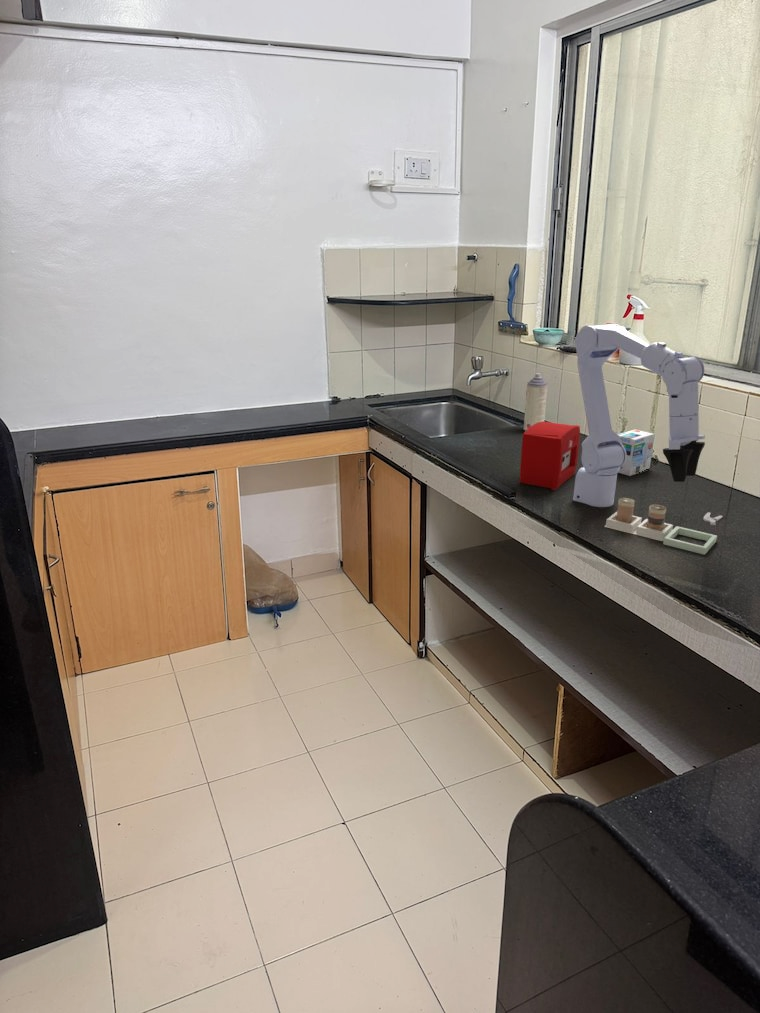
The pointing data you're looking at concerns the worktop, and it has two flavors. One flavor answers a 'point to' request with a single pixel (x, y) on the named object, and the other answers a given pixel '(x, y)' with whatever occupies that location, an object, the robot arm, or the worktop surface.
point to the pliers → (711, 519)
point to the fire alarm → (549, 454)
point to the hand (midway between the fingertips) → (684, 478)
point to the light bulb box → (636, 451)
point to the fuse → (625, 510)
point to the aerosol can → (535, 401)
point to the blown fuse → (656, 517)
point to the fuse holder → (638, 527)
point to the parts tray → (704, 549)
